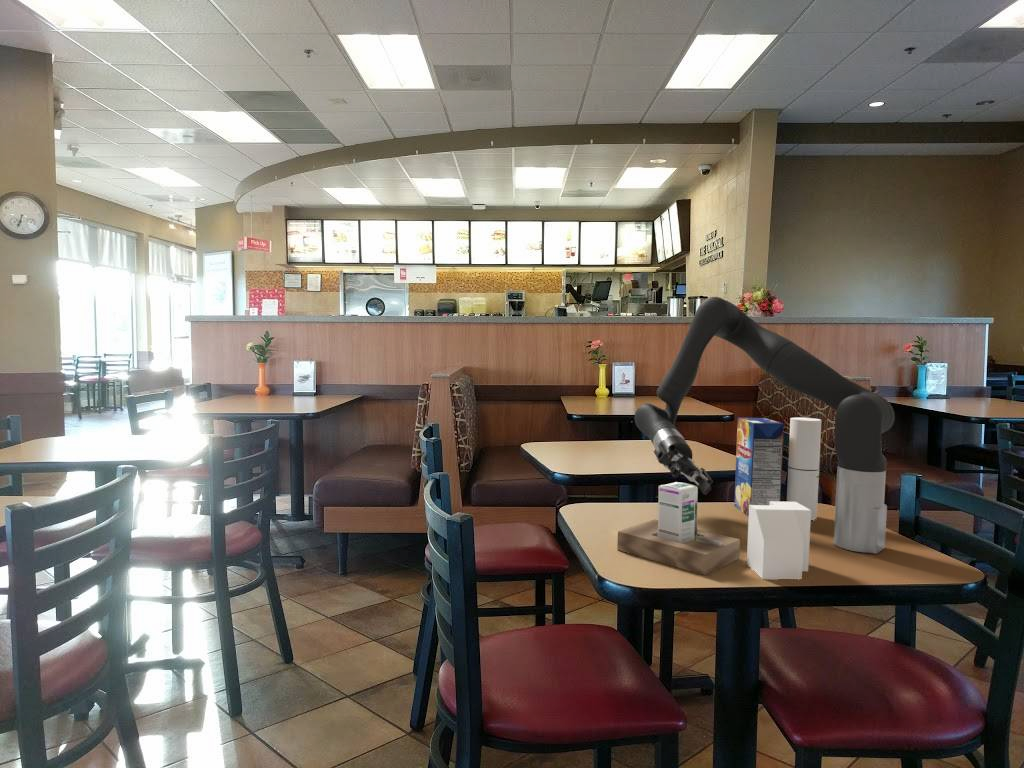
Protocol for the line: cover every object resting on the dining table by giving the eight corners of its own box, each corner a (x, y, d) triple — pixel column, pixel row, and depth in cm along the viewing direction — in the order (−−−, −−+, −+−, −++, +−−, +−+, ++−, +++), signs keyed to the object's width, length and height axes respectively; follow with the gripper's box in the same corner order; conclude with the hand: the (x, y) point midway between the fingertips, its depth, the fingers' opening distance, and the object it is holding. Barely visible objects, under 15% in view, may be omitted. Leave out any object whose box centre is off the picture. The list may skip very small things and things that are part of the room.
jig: (739, 558, 132) (740, 535, 132) (705, 575, 122) (705, 550, 122) (654, 536, 146) (654, 515, 146) (617, 550, 136) (617, 527, 136)
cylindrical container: (779, 514, 167) (784, 418, 165) (799, 512, 170) (804, 417, 168) (802, 521, 161) (807, 421, 159) (823, 519, 164) (827, 420, 162)
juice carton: (734, 505, 176) (737, 417, 174) (761, 506, 175) (765, 417, 174) (749, 517, 164) (753, 423, 162) (779, 518, 164) (783, 423, 162)
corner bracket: (793, 559, 132) (795, 501, 131) (819, 580, 121) (822, 516, 120) (740, 559, 132) (743, 500, 131) (762, 579, 121) (764, 515, 120)
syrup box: (679, 560, 130) (682, 489, 129) (656, 553, 135) (658, 484, 134) (696, 555, 134) (699, 485, 133) (673, 548, 138) (675, 480, 137)
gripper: (658, 423, 156) (678, 455, 141) (703, 450, 160) (728, 484, 145) (639, 446, 158) (657, 481, 143) (685, 473, 162) (706, 509, 147)
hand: (692, 482), depth 144 cm, fingers open, 8 cm apart
